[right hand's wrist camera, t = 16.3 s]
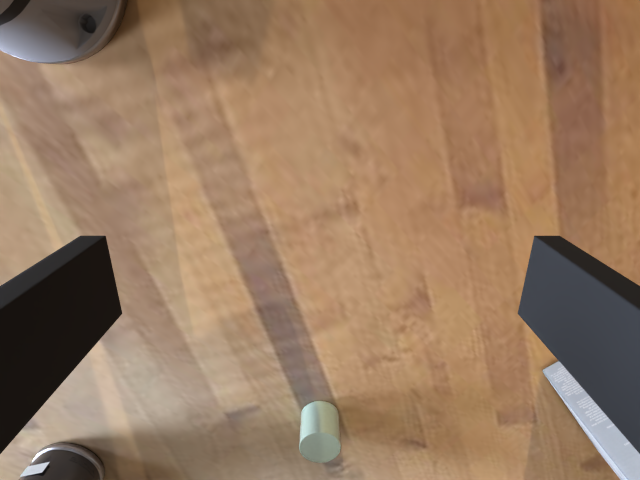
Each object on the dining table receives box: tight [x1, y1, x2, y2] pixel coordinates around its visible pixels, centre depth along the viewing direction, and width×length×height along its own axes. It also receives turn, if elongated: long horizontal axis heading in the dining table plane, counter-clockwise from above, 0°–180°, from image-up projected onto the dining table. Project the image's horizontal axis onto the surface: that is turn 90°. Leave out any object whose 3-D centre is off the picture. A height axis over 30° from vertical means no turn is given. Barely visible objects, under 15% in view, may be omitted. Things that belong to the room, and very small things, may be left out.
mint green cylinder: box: [299, 401, 341, 463], centre depth 49 cm, size 5×5×5 cm
